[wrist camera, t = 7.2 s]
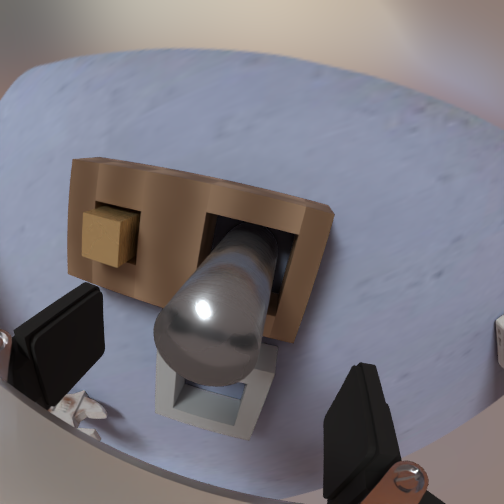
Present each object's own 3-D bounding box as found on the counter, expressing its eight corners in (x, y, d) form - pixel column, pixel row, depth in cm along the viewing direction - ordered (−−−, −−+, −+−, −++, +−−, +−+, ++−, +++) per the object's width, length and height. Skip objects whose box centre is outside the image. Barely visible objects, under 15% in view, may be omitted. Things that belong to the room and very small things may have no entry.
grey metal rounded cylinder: (218, 268, 23) (151, 368, 11) (228, 216, 21) (157, 283, 10) (270, 281, 22) (246, 397, 11) (284, 230, 21) (270, 315, 10)
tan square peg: (118, 236, 23) (81, 256, 18) (121, 200, 22) (83, 212, 17) (150, 245, 22) (117, 267, 18) (155, 207, 22) (120, 222, 17)
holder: (167, 389, 28) (155, 412, 24) (173, 318, 25) (157, 340, 21) (254, 414, 27) (249, 440, 24) (278, 346, 24) (275, 373, 21)
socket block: (91, 259, 24) (67, 273, 21) (99, 157, 21) (72, 159, 18) (294, 318, 23) (293, 343, 20) (328, 205, 20) (334, 214, 17)
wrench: (4, 354, 37) (119, 400, 29) (8, 362, 38) (125, 411, 29) (-25, 375, 30) (80, 446, 21) (-20, 384, 30) (88, 456, 22)
